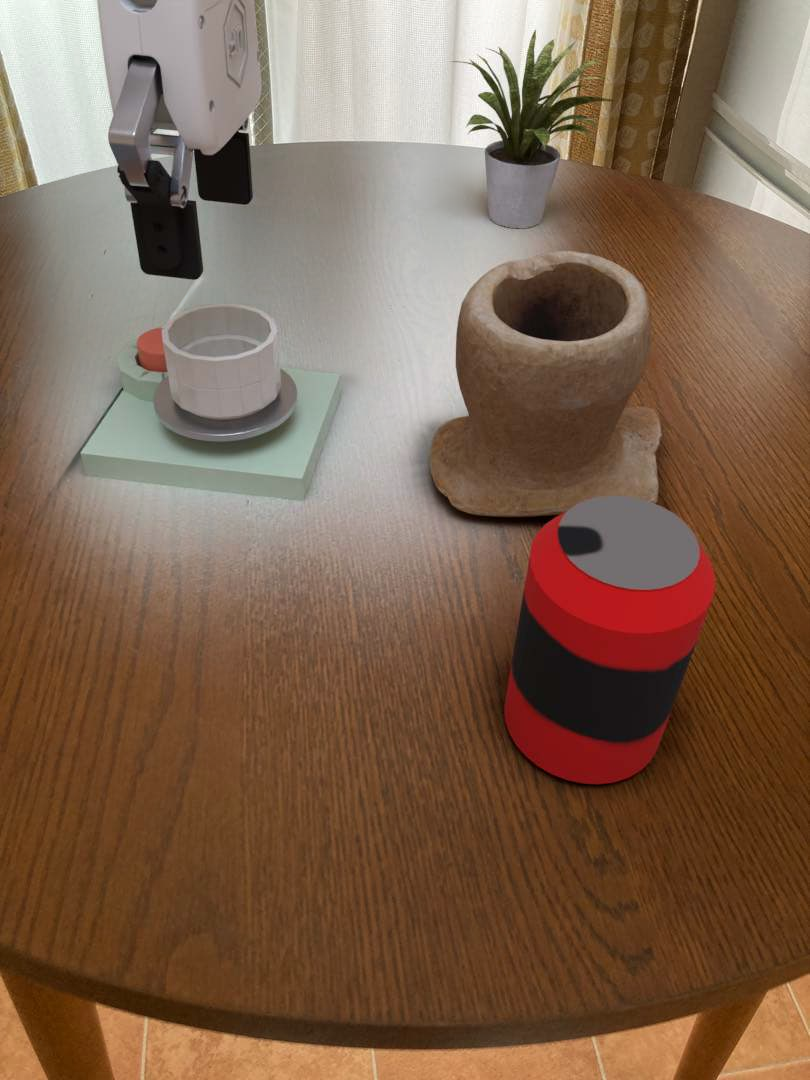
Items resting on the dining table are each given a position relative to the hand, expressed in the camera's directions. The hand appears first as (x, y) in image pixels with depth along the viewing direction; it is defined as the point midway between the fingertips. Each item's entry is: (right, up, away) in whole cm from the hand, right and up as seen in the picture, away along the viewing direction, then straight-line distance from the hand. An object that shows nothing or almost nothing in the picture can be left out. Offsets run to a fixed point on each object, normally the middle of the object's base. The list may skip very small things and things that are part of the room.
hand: (201, 235), depth 52 cm
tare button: (-5, -5, +11) cm, 13 cm away
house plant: (+21, +14, +38) cm, 45 cm away
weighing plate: (0, -8, +7) cm, 11 cm away
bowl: (0, -8, +7) cm, 10 cm away
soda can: (+20, -26, -6) cm, 34 cm away
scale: (-1, -10, +10) cm, 14 cm away
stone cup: (+21, -14, +7) cm, 26 cm away
